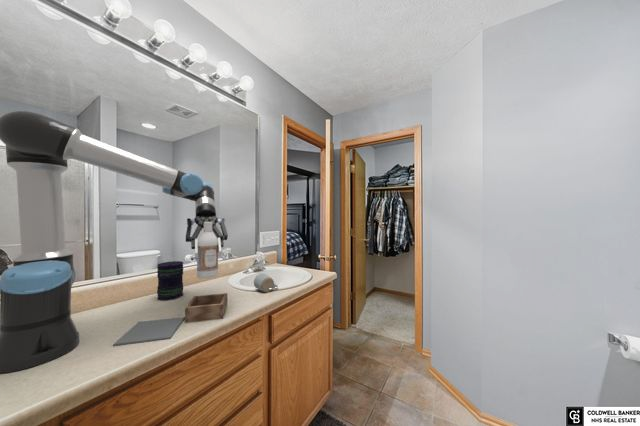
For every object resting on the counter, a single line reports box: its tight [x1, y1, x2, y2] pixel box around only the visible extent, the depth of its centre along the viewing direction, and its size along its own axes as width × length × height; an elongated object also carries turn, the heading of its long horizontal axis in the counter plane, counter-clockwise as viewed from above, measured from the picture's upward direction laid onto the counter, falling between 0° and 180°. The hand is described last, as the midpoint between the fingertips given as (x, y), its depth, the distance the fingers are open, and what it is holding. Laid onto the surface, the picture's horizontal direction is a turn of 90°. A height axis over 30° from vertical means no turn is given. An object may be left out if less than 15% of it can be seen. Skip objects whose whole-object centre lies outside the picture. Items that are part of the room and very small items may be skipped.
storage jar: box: [156, 260, 184, 302], centre depth 102 cm, size 10×10×15 cm
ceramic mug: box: [253, 272, 278, 293], centre depth 111 cm, size 11×8×8 cm
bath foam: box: [196, 222, 219, 279], centre depth 84 cm, size 7×7×20 cm
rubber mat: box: [112, 316, 185, 347], centre depth 72 cm, size 14×14×1 cm
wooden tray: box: [184, 292, 228, 324], centre depth 84 cm, size 12×12×5 cm
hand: (208, 254), depth 81 cm, fingers closed on bath foam, 7 cm apart
